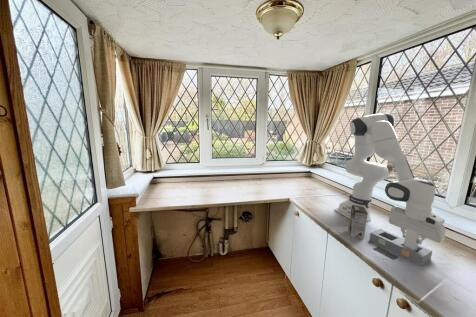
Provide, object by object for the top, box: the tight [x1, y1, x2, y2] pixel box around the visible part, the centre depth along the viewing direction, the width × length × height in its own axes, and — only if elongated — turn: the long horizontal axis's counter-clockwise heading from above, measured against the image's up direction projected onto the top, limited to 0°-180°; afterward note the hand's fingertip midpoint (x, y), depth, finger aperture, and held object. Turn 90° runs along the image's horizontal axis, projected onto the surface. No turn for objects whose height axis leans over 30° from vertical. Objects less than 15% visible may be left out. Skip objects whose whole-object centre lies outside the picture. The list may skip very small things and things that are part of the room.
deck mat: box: [372, 246, 399, 261], centre depth 97 cm, size 9×5×1 cm, turn 28°
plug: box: [404, 228, 421, 251], centre depth 94 cm, size 4×4×11 cm
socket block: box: [369, 228, 433, 267], centre depth 100 cm, size 22×10×5 cm, turn 28°
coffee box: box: [348, 205, 368, 240], centre depth 112 cm, size 9×6×16 cm
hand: (411, 240), depth 94 cm, fingers closed on plug, 4 cm apart
